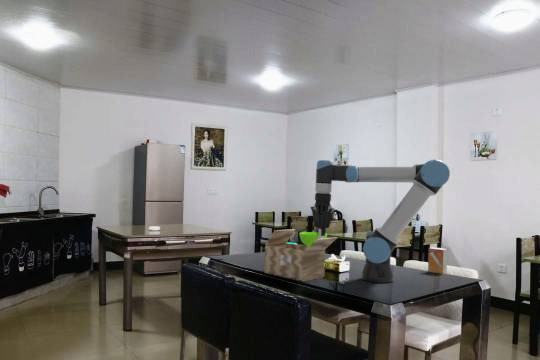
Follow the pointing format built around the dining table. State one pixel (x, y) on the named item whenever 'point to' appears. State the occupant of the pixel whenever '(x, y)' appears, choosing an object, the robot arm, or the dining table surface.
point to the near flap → (320, 244)
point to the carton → (294, 261)
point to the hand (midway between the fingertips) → (320, 242)
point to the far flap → (280, 236)
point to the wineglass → (309, 237)
